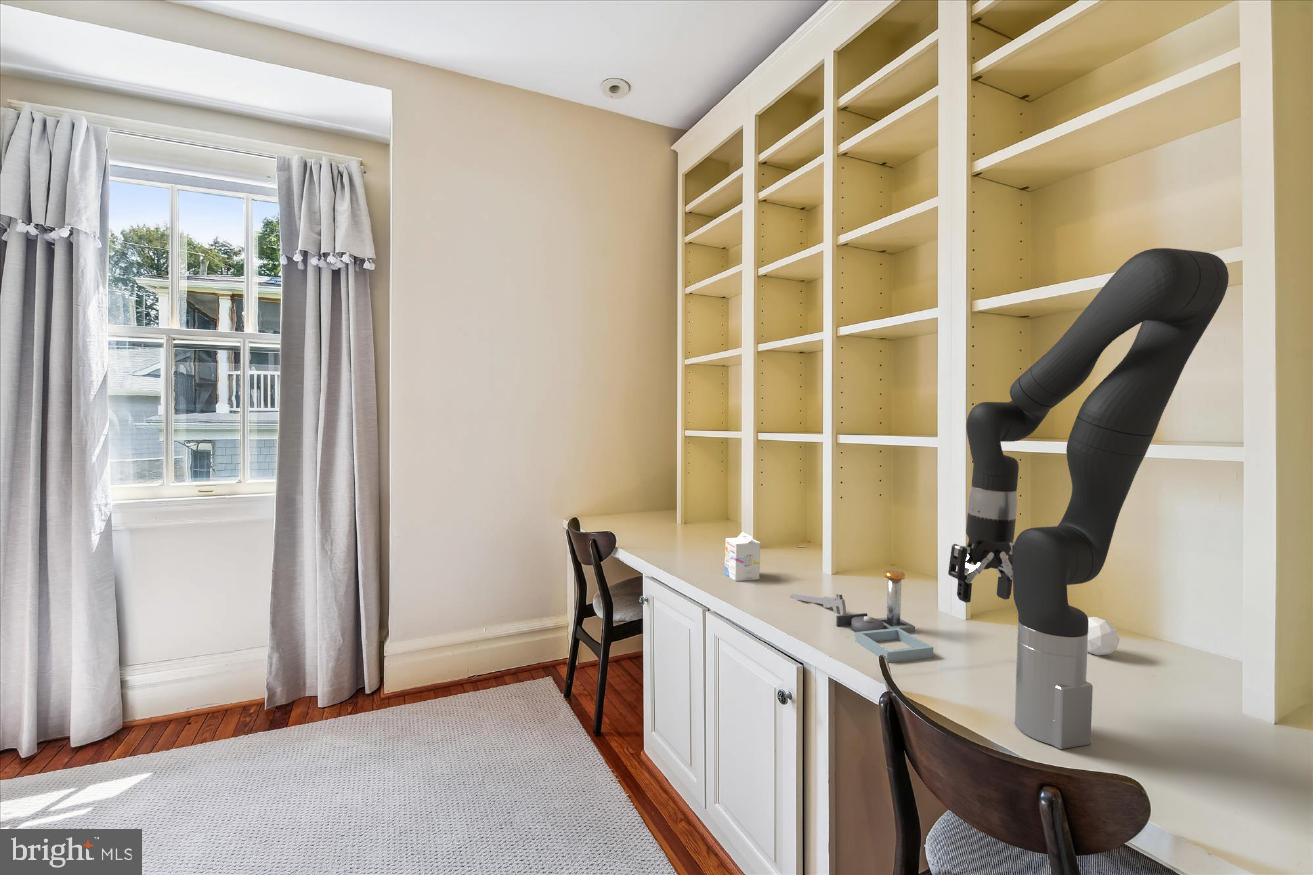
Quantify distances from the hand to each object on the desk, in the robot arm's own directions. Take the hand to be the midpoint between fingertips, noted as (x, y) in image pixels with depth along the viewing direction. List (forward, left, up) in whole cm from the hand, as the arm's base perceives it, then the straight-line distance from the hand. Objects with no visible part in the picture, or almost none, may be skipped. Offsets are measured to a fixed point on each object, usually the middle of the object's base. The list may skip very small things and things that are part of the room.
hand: (983, 599), depth 104 cm
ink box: (+80, +14, -18) cm, 83 cm away
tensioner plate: (+29, 0, -17) cm, 34 cm away
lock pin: (+29, -3, -16) cm, 33 cm away
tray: (+19, +5, -17) cm, 26 cm away
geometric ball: (+9, -38, -18) cm, 43 cm away
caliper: (+49, +6, -18) cm, 52 cm away
